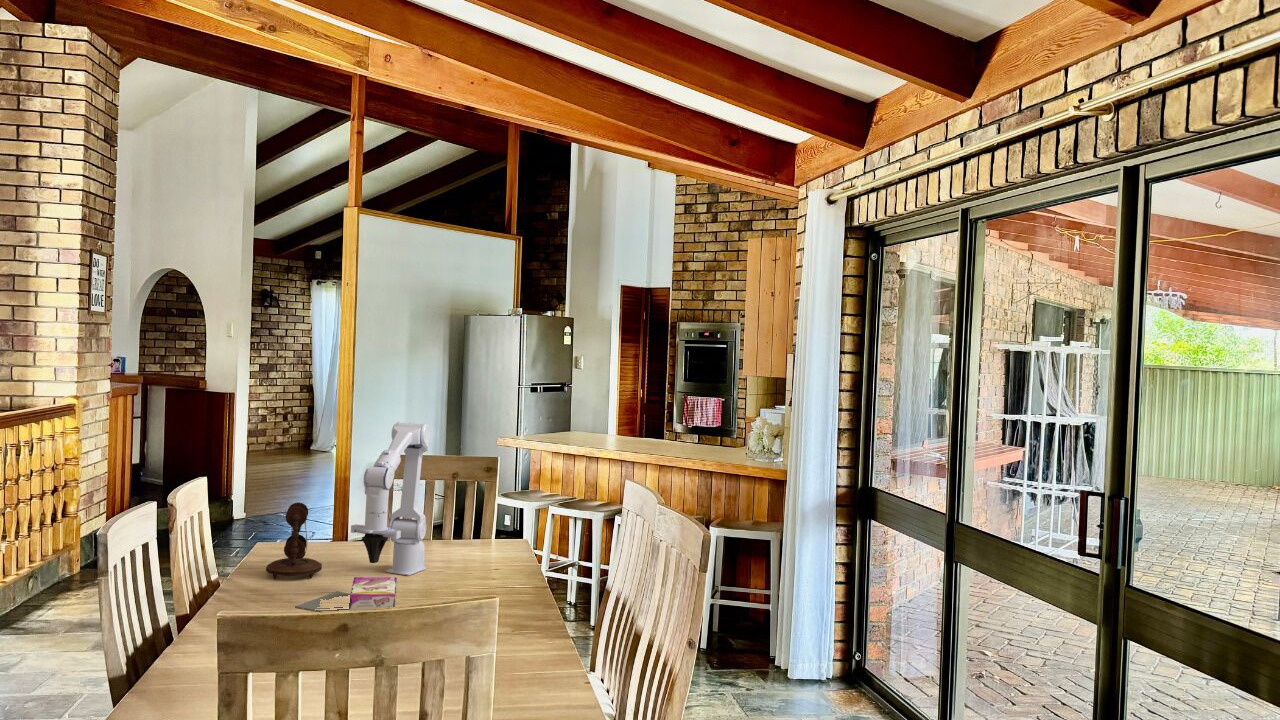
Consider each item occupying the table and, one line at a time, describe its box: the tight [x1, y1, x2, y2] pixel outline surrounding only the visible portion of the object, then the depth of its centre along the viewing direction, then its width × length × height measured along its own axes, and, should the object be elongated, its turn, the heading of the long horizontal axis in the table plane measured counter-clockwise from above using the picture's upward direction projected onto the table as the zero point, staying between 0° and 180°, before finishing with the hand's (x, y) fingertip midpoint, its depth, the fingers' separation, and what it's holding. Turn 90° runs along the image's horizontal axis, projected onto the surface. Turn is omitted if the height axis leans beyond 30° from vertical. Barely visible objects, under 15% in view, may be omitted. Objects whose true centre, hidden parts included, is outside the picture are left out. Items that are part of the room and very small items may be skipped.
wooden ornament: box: [265, 502, 323, 580], centre depth 252 cm, size 15×15×20 cm
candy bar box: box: [349, 576, 398, 610], centre depth 228 cm, size 11×5×16 cm
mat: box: [294, 590, 351, 613], centre depth 226 cm, size 16×17×1 cm
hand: (373, 562), depth 237 cm, fingers closed
